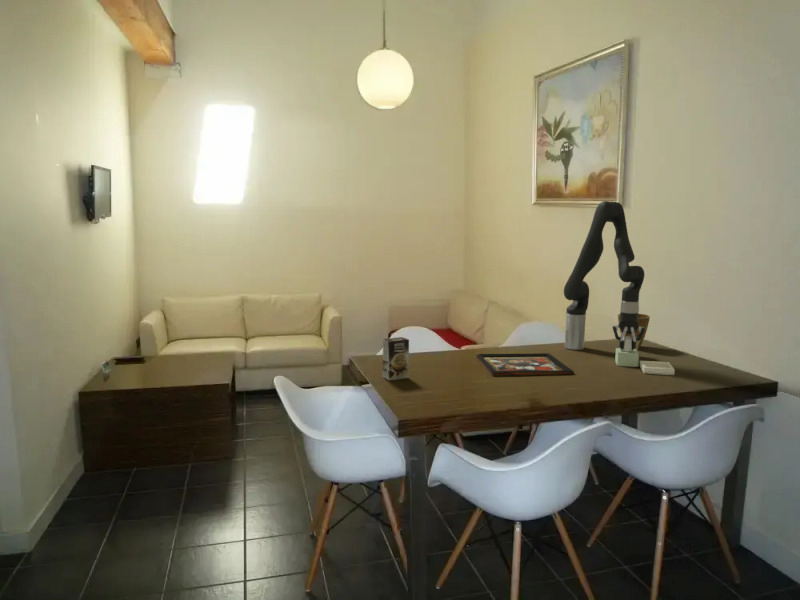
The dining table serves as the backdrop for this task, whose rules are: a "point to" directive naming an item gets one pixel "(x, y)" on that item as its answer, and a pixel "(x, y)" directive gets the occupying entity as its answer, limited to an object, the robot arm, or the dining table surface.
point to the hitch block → (626, 358)
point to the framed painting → (523, 364)
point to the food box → (395, 358)
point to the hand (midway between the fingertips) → (627, 349)
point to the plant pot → (642, 322)
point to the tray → (656, 367)
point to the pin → (627, 344)
